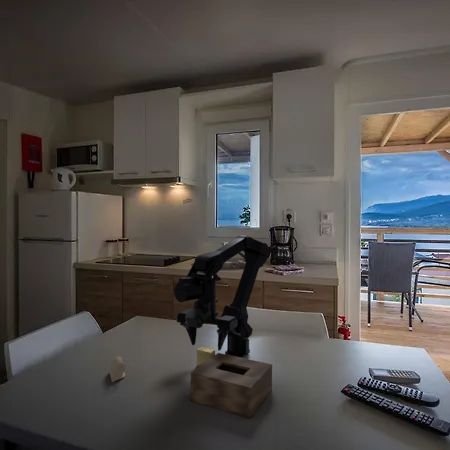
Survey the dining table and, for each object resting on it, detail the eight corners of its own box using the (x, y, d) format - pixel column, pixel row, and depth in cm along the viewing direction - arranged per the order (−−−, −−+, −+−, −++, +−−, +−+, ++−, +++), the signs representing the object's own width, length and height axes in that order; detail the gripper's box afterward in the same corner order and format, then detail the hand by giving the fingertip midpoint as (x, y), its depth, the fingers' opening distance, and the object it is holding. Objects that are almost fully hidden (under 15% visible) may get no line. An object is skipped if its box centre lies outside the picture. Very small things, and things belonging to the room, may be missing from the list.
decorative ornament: (123, 369, 100) (123, 351, 100) (127, 381, 92) (127, 362, 92) (108, 372, 98) (108, 353, 98) (112, 384, 90) (112, 365, 90)
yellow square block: (196, 365, 103) (196, 349, 102) (201, 362, 105) (201, 346, 105) (210, 369, 100) (211, 352, 100) (215, 366, 102) (215, 349, 102)
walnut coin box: (190, 400, 82) (190, 372, 82) (218, 377, 95) (218, 352, 95) (250, 418, 75) (250, 387, 75) (271, 391, 87) (272, 364, 87)
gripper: (165, 298, 100) (165, 351, 100) (220, 306, 91) (220, 363, 91) (186, 291, 109) (186, 339, 110) (238, 298, 101) (238, 349, 101)
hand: (206, 347), depth 103 cm, fingers open, 9 cm apart
